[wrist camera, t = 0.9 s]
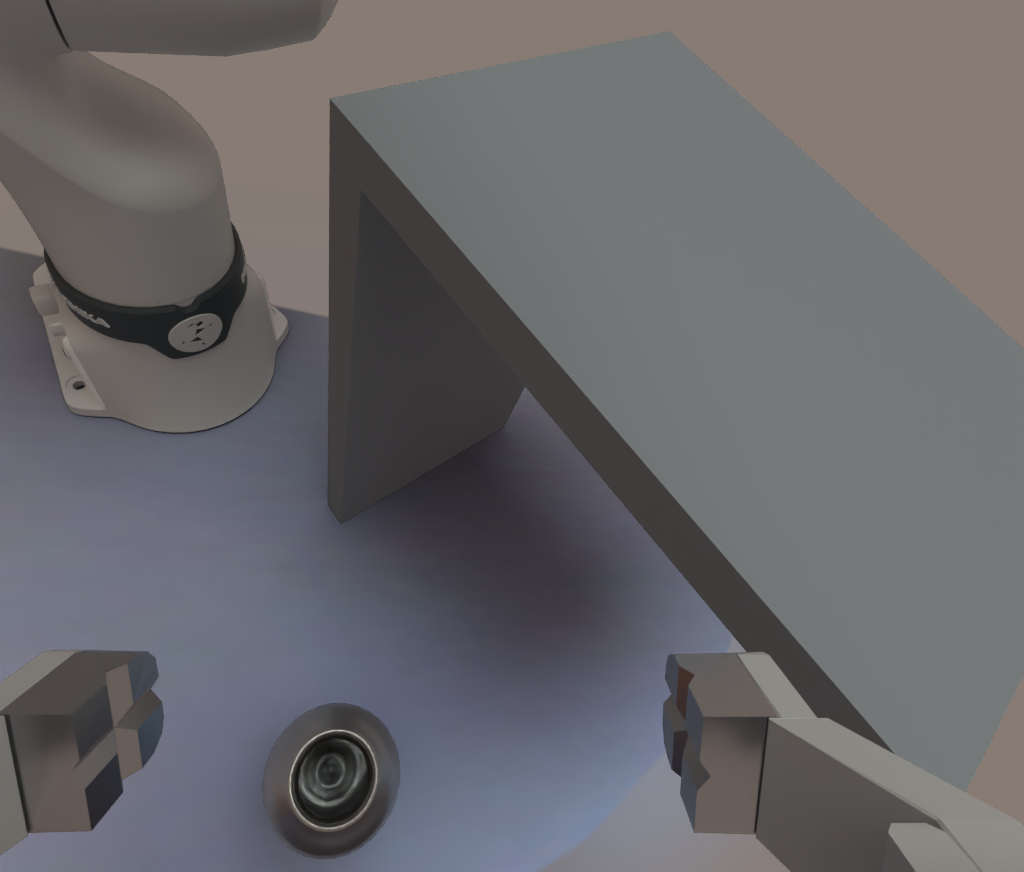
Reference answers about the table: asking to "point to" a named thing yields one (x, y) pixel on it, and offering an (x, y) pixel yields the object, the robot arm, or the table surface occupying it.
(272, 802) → the plastic bottle
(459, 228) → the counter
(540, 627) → the table surface
